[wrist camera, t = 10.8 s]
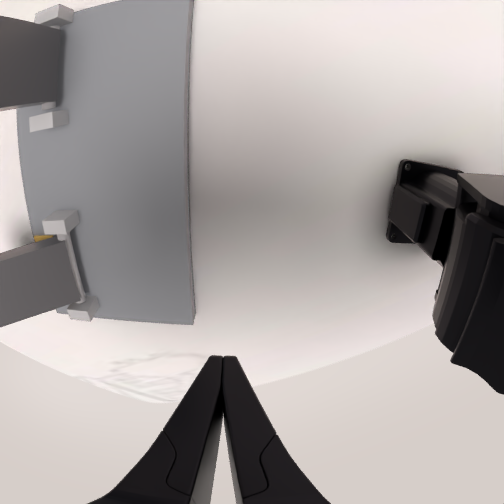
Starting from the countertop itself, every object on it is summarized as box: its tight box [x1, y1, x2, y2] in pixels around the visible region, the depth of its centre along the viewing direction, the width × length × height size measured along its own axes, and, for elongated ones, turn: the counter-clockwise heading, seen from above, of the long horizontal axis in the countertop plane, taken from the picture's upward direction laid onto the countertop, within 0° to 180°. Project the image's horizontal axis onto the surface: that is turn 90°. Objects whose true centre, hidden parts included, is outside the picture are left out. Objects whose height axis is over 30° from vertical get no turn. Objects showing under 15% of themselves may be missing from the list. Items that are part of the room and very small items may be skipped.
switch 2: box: [0, 232, 86, 327], centre depth 17 cm, size 2×6×10 cm
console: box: [17, 0, 195, 325], centre depth 17 cm, size 13×24×4 cm, turn 178°
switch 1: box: [0, 16, 61, 111], centre depth 9 cm, size 2×6×10 cm, turn 178°
